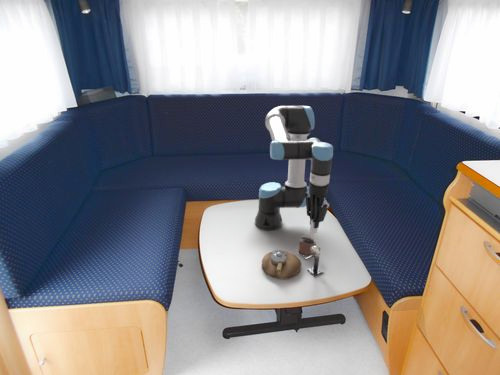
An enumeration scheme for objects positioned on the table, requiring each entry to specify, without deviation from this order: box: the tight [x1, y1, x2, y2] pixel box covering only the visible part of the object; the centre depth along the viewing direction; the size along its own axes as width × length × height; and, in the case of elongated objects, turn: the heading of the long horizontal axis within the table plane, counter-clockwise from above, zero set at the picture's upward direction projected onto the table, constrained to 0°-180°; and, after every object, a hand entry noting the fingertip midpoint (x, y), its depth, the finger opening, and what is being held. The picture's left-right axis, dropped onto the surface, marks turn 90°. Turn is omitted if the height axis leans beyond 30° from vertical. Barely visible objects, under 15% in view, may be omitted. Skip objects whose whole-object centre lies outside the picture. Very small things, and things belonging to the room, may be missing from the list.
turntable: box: [261, 250, 302, 280], centre depth 159 cm, size 18×18×5 cm
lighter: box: [297, 235, 317, 257], centre depth 167 cm, size 8×3×10 cm, turn 71°
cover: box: [271, 249, 287, 266], centre depth 159 cm, size 7×7×5 cm
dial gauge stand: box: [304, 245, 324, 278], centre depth 154 cm, size 5×8×14 cm, turn 123°
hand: (313, 233), depth 146 cm, fingers closed
